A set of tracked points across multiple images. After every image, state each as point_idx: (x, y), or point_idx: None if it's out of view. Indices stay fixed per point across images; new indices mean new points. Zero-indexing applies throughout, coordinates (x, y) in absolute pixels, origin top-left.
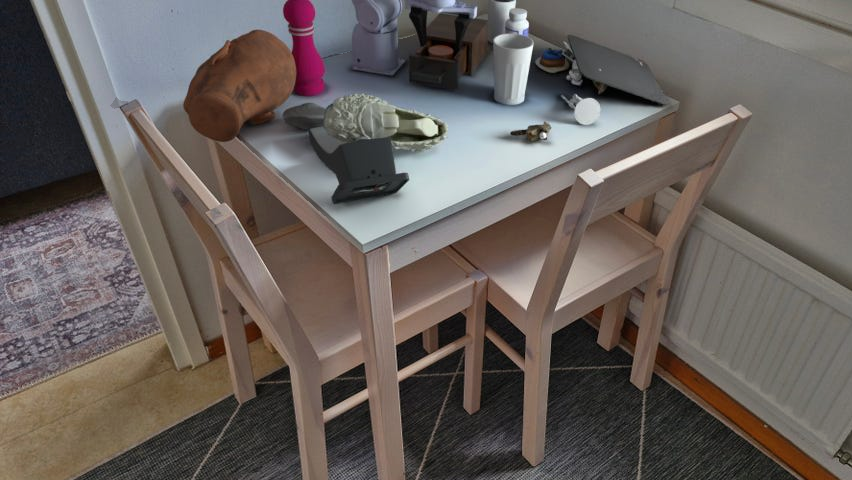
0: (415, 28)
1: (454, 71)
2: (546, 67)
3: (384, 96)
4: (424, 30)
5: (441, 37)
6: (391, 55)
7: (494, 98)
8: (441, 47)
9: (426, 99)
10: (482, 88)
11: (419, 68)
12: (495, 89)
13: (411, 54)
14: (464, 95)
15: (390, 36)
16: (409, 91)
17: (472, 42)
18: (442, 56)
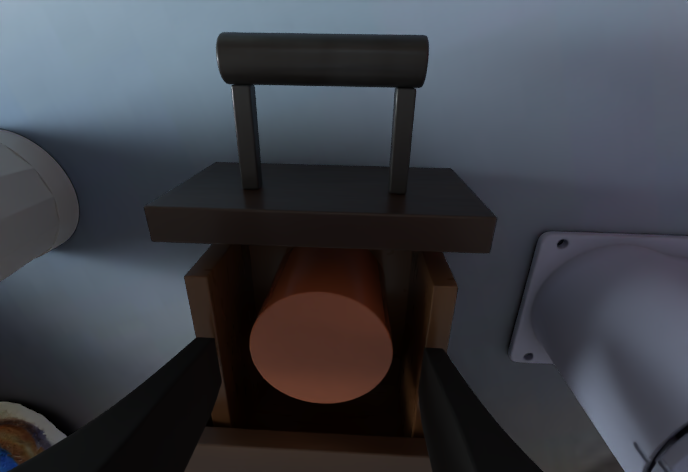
0: (519, 448)
1: (187, 188)
2: (15, 417)
3: (553, 8)
4: (441, 461)
5: (347, 454)
6: (591, 312)
7: (58, 165)
8: (328, 381)
9: None
10: (150, 239)
11: (399, 161)
12: (12, 169)
13: (480, 241)
14: (186, 156)
15: (671, 393)
16: (435, 112)
17: None
18: (288, 293)
